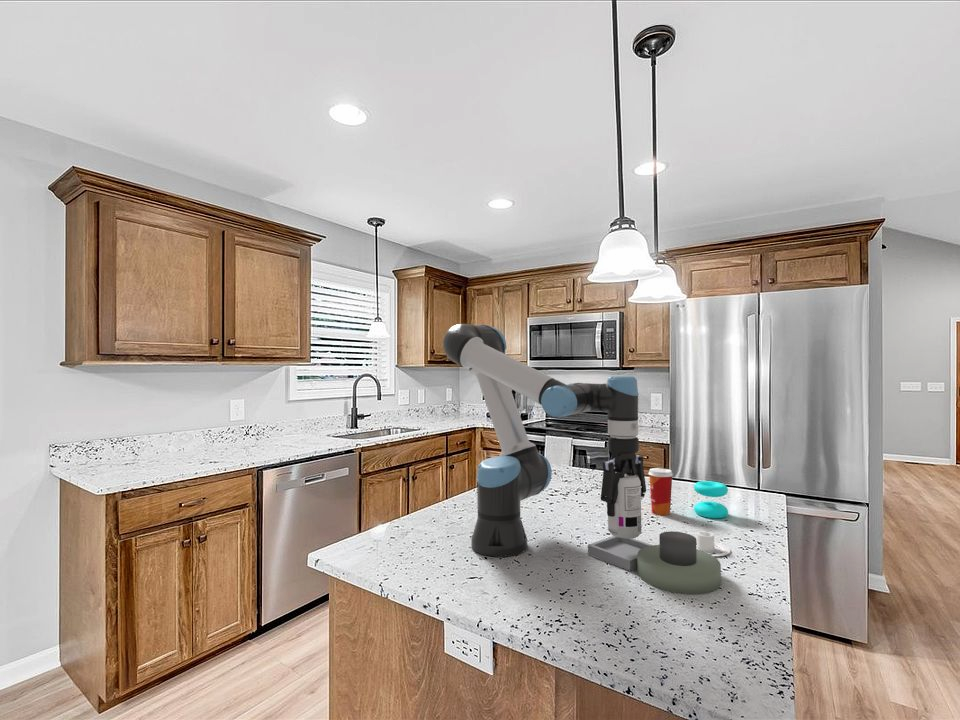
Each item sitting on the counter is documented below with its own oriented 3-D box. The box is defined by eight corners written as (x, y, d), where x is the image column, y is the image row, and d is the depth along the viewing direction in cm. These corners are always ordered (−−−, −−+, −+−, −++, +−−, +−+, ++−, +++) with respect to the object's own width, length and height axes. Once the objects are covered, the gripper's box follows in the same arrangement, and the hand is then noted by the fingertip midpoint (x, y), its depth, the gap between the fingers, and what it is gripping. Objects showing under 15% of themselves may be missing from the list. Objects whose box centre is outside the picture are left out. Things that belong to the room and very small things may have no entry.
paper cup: (653, 508, 169) (653, 466, 169) (676, 512, 164) (676, 469, 164) (644, 513, 163) (644, 470, 163) (668, 518, 158) (668, 474, 158)
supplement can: (607, 537, 125) (606, 478, 125) (609, 527, 133) (608, 471, 133) (641, 540, 123) (640, 479, 123) (641, 529, 131) (640, 472, 131)
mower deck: (693, 602, 103) (693, 559, 103) (581, 556, 128) (580, 521, 128) (736, 579, 114) (735, 539, 114) (625, 540, 139) (624, 508, 139)
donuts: (732, 483, 161) (720, 489, 154) (733, 514, 161) (721, 521, 154) (701, 478, 168) (688, 483, 161) (701, 508, 168) (688, 514, 161)
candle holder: (691, 559, 127) (691, 542, 127) (673, 542, 139) (673, 526, 139) (739, 559, 126) (739, 541, 126) (717, 541, 138) (717, 526, 138)
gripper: (608, 442, 119) (610, 538, 119) (660, 433, 131) (661, 520, 131) (584, 438, 125) (585, 529, 125) (635, 430, 137) (637, 513, 137)
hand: (624, 524), depth 128 cm, fingers closed on supplement can, 8 cm apart
